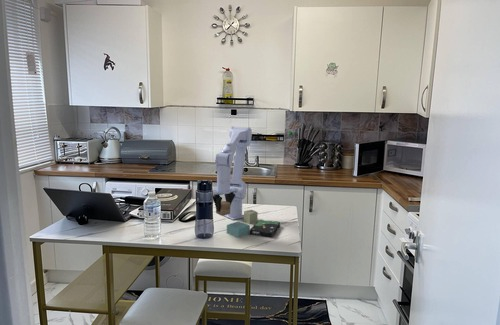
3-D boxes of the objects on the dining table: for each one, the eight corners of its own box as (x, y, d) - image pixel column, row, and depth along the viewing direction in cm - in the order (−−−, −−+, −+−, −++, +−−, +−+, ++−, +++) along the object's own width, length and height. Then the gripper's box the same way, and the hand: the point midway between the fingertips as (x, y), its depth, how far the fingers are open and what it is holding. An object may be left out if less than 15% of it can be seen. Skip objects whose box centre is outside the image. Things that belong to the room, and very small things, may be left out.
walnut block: (215, 213, 170) (216, 202, 169) (224, 211, 172) (224, 200, 171) (221, 215, 166) (222, 204, 165) (230, 214, 169) (230, 203, 168)
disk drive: (272, 239, 161) (280, 227, 175) (273, 233, 161) (280, 221, 175) (249, 236, 164) (258, 224, 178) (249, 229, 164) (258, 218, 178)
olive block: (243, 221, 181) (244, 211, 180) (251, 219, 184) (251, 209, 183) (249, 224, 177) (250, 213, 176) (257, 222, 180) (257, 212, 179)
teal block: (226, 233, 165) (226, 224, 164) (238, 229, 170) (238, 221, 169) (238, 238, 160) (238, 229, 159) (249, 234, 165) (249, 225, 164)
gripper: (214, 184, 159) (214, 215, 161) (242, 180, 168) (241, 209, 170) (205, 180, 164) (205, 211, 167) (232, 177, 173) (232, 205, 176)
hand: (223, 210), depth 169 cm, fingers closed on walnut block, 4 cm apart
